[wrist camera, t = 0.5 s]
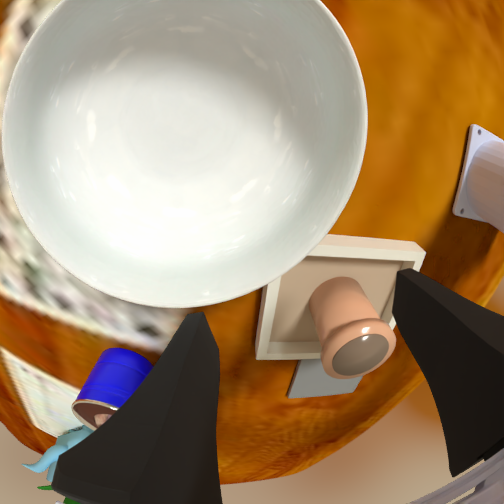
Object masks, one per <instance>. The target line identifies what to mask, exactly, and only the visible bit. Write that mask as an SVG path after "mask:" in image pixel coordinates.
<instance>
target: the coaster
mask: <svg viewBox="0 0 504 504" xmlns="http://www.w3.org/2000/svg"><path fill="white" fill-rule="evenodd" d="M362 377H363V375H362V376H359V377H356V378H351V379H336V378H333V377H330V376H329V375H327V374H326V372H325V371H324V368H323V365H322V362H321V358H319V359H299V361H298V364H297V367H296V370H295V373H294V376H293V379H292V382H291V385H290V388H289V391H288V394H287V395H288V398H302V397H315V396H326V395H336V394H344V393H352V392H353V391H354V390H355V388H356V387H357V385H358V383H359V382H360V380H361V378H362Z"/></svg>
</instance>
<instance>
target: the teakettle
mask: <svg viewBox="0 0 504 504" xmlns="http://www.w3.org/2000/svg"><path fill="white" fill-rule="evenodd" d="M82 428H83V429H82V430H78V431H74V430H71V429H70V430H69V432H70V433H68V434H64V435H61V436H58V439H57V442H56V445H54V446H52V447H50V448H49V449H48V450H47V451H46V452H45V453H44V455H43V456H42V457H41V459H40V460H39V461H38V462H37V463H35V464H31V465H28V464H22V465H24V466H26V467H27V468H29V469H31V470H33V471H34V472H38V473H40V472H43V471H45V470H46V469H47V468H48V467H49V470H48V474H47V480H48V481H50V482H52V480H53V476H54V471H55V468H56V464H57V460H58V456H59V455H60V454H62V453H64V452H65V451H67V450H69V449H70V448H72V447H73V446H75V445H76V444H78V443H79V442H81V441H82V440H83V439H85V438H86V437H87V436H89V435H90V434H91V433H93V432H94V430H92V429H90V428H89V427H87V426H86V425H82Z"/></svg>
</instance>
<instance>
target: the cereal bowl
mask: <svg viewBox="0 0 504 504" xmlns="http://www.w3.org/2000/svg"><path fill="white" fill-rule="evenodd" d="M367 125H368V112H367V101H366V92H365V87H364V82H363V78H362V74H361V71H360V67H359V64H358V61H357V58H356V55H355V53H354V50H353V48H352V46H351V44H350V42H349V40H348V38H347V36H346V34H345V32H344V31H343V29H342V27H341V26H340V24H339V23H338V21H337V20H336V19H335V17H334V16H333V15H332V13H331V12H330V11H329V10H328V9H327V8H326V6H325V5H324V4H323V3H322V2H321V1H320V0H62V1H61V2H60V3H59V4H58V5H57V6H56V7H55V8H54V9H53V10H52V11H51V12H50V13H49V14H48V15H47V17H46V18H45V19H44V20H43V21H42V23H41V24H40V25H39V27H38V28H37V29H36V31H35V32H34V34H33V35H32V37H31V39H30V40H29V42H28V43H27V45H26V47H25V49H24V50H23V52H22V54H21V56H20V58H19V61H18V63H17V65H16V67H15V70H14V72H13V75H12V78H11V81H10V85H9V88H8V92H7V96H6V100H5V106H4V112H3V120H2V151H3V160H4V167H5V171H6V176H7V180H8V183H9V186H10V190H11V193H12V196H13V198H14V201H15V203H16V206H17V208H18V210H19V212H20V214H21V216H22V218H23V220H24V222H25V223H26V225H27V227H28V228H29V230H30V232H31V233H32V234H33V236H34V237H35V238H36V240H37V241H38V242H39V244H40V245H41V246H42V247H43V248H44V250H45V251H46V252H47V253H48V254H49V255H50V256H51V257H52V258H53V259H54V260H55V261H56V262H57V263H58V264H59V265H60V266H62V267H63V268H64V269H65V270H66V271H68V272H69V273H70V274H72V275H73V276H75V277H76V278H77V279H79V280H81V281H82V282H84V283H85V284H87V285H89V286H90V287H92V288H94V289H96V290H98V291H101V292H103V293H105V294H107V295H110V296H112V297H115V298H118V299H121V300H124V301H128V302H131V303H135V304H140V305H145V306H151V307H160V308H189V307H200V306H206V305H212V304H216V303H221V302H225V301H228V300H231V299H234V298H237V297H240V296H243V295H246V294H248V293H250V292H252V291H255V290H257V289H259V288H261V287H263V286H265V285H267V284H269V283H271V282H273V281H274V280H276V279H277V278H279V277H280V276H282V275H283V274H285V273H286V272H288V271H289V270H291V269H292V268H293V267H294V266H296V265H297V264H298V263H299V262H301V261H302V260H303V259H304V258H305V257H306V256H307V255H308V254H309V253H310V252H311V251H312V250H313V249H314V248H315V247H316V246H317V245H318V244H319V243H320V241H321V240H322V239H323V238H324V237H325V235H326V234H327V233H328V232H329V230H330V229H331V228H332V226H333V225H334V223H335V222H336V220H337V219H338V217H339V215H340V214H341V212H342V210H343V209H344V207H345V205H346V203H347V202H348V200H349V198H350V195H351V193H352V191H353V189H354V187H355V184H356V181H357V179H358V176H359V172H360V169H361V165H362V161H363V157H364V152H365V147H366V138H367Z"/></svg>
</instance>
